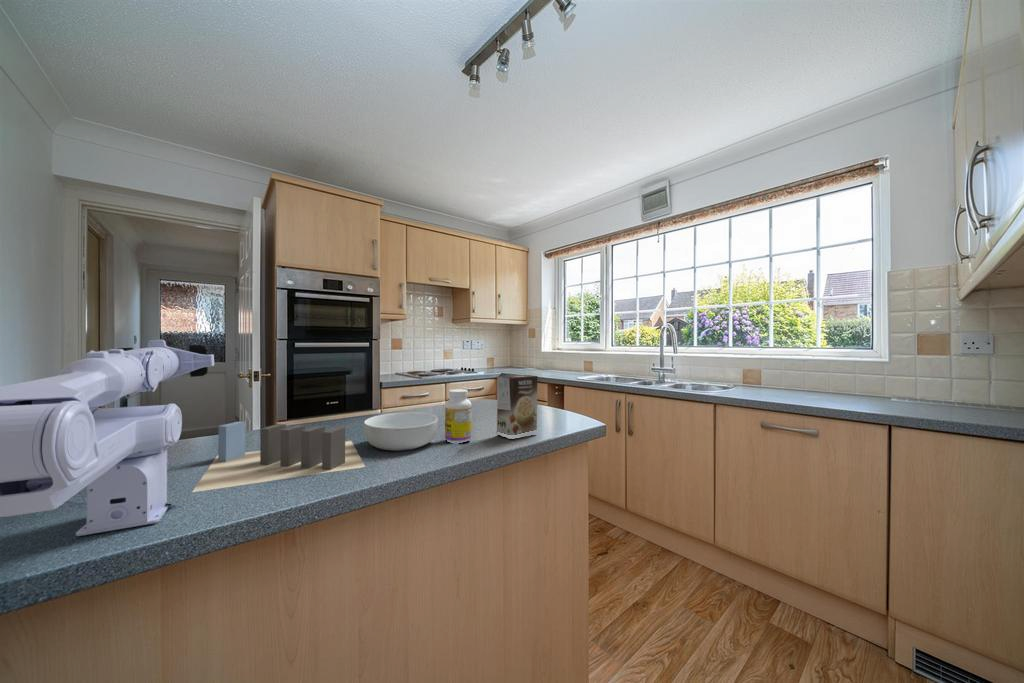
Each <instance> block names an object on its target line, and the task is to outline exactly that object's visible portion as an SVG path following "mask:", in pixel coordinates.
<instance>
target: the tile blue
mask: <svg viewBox="0 0 1024 683" xmlns="http://www.w3.org/2000/svg"><path fill="white" fill-rule="evenodd" d="M217 444H218V450H217V452H218V455H217V456H218V461H222V462H227V461H230V460H233V459H236V458H239V457H242V456H245V453H246V421H235V422H231V423H225V424H222V425H218V441H217Z"/></svg>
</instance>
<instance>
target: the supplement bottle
mask: <svg viewBox="0 0 1024 683" xmlns="http://www.w3.org/2000/svg"><path fill="white" fill-rule="evenodd" d="M468 392H469V391H468V389H463V388H458V389H457V388H456V389H450V390H448V395H449V399H448V400H447V401H446V402H445V404H444V440H445V439H446V440H450V441H464V440H467V439H470V438H471V439H472V402H471V400H469V399H468V395H469V393H468Z"/></svg>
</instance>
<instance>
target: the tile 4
mask: <svg viewBox="0 0 1024 683" xmlns="http://www.w3.org/2000/svg"><path fill="white" fill-rule="evenodd" d="M324 431H326V426H324V425H323V426H322V425H316V426H313V427H308V428H305V430H303V431H301V468H311V467H314V466H316V465H318V464H320V463H322V432H324Z"/></svg>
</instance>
